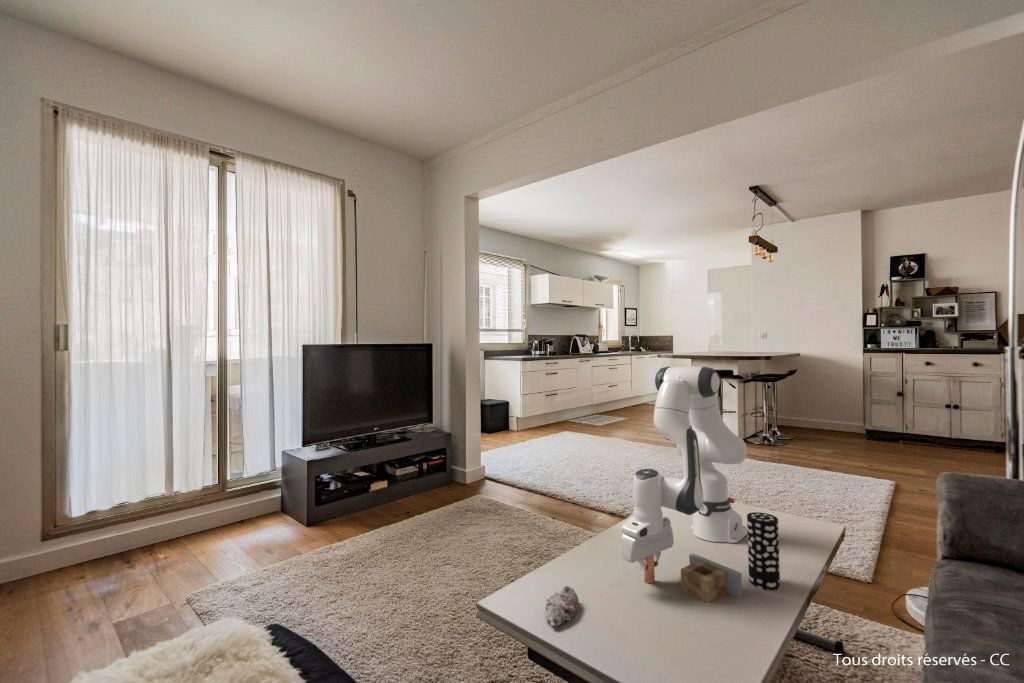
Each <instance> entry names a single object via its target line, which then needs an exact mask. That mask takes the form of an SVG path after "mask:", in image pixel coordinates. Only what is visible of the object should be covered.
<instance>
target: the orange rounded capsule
mask: <svg viewBox="0 0 1024 683" xmlns="http://www.w3.org/2000/svg"><path fill="white" fill-rule="evenodd" d="M644 562H645V564H647V565H648V570H647V571H644V573H643V575H644V583H646V584H649V585H653V584H655V581H656V580H655V567H654V554H653V555H651V556H648V557H646V558H645V561H644Z"/></svg>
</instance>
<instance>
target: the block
mask: <svg viewBox="0 0 1024 683" xmlns="http://www.w3.org/2000/svg"><path fill="white" fill-rule="evenodd" d="M680 588H681V591H684V592H686V593H688V594H691V595H693V596H694V597H697V599H698V598H699V599H700V600H702V601H705V602H707V603H711V602H713V601H714V600H716V599H718V598H720V597H722V596H724V595H725V594H728V593H727V579H726V572H725V571H722V570H720V569H718V568H715V567H713V566H711V565H708V564H706V563H703V562H701V561H697V562H695V563H693V564H691V565H687V566H685V567H682V568H680Z"/></svg>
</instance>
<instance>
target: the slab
mask: <svg viewBox="0 0 1024 683" xmlns="http://www.w3.org/2000/svg"><path fill="white" fill-rule="evenodd" d="M688 558H689V565H691V564H693V563H695V562H697V561H701V562H703V563H706V564H708V565H711V566H713V567H715V568H718V569H720V570H722V571H725V572H726V579H727V593H726V594H729V595H731V596H734V597H736V598H737V599H739V598H741V597H743V579H742V577H743V576H742V572H740V571H737V570H735V569H732V568H729V567H728V566H725V565H722V564H720V563H718V562H715V561H713V560H710V559H708V558H706V557H702V556H701V555H699V554H696V553H694V552H692V553H691V554H689V555H688Z"/></svg>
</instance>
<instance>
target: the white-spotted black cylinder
mask: <svg viewBox="0 0 1024 683" xmlns="http://www.w3.org/2000/svg"><path fill="white" fill-rule="evenodd" d="M746 519H747V521H746V523H747V525H746V527H747V531H748V534H747V555H748V556H747V557H748V558H747V560H748V561H747V562H748V582H749V583H750V584H751V585H752V586H753V587H755V588H758V589H761V590H764V591H776V590H780V588H781V575H780V574H781V571H780V568H781V567H780V541H779V540H780V539H779V518H778V517H777V516H775V515H773V514H770V513H765V512H755V511H754V512H749V513H747V514H746Z"/></svg>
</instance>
